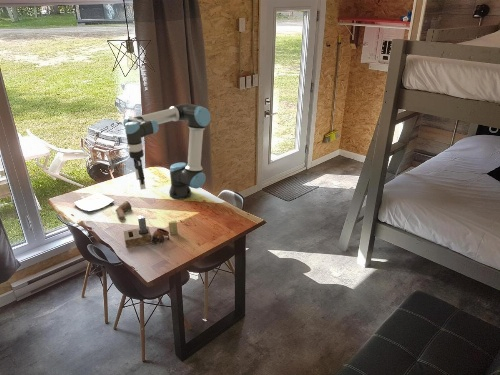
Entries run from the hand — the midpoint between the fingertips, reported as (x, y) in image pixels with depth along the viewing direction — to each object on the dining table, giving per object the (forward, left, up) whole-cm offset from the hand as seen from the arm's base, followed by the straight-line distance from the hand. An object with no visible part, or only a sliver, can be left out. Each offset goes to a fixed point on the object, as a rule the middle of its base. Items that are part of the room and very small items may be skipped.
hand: (141, 183), depth 223 cm
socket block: (+7, +15, -28) cm, 33 cm away
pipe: (+11, -18, -29) cm, 36 cm away
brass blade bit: (-14, +15, -28) cm, 35 cm away
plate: (+28, -39, -29) cm, 56 cm away
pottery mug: (-5, +21, -28) cm, 36 cm away
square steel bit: (+3, +15, -27) cm, 31 cm away
